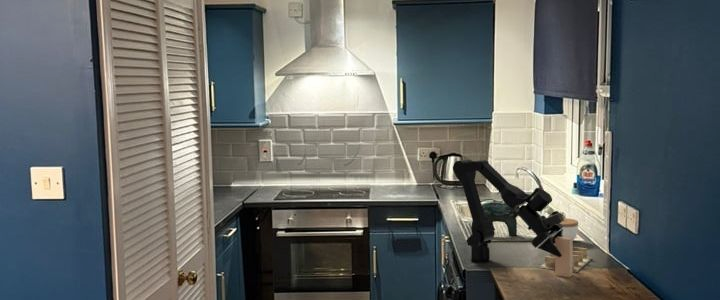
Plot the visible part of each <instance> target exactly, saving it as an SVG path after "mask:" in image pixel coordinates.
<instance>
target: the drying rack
mask: <svg viewBox="0 0 720 300" xmlns="http://www.w3.org/2000/svg"><path fill="white" fill-rule="evenodd" d="M592 258H593V257H591V256H588V248H587V247H585V248H584V247H578V246H573V273H576V272H577V273H578V272H579V271H580V270H581V269H582V268H584V267H585V266H586V265H587V264H588V263H589V262H590V261H591V260H592ZM539 268H540V269H545V270H546V269H547V270H554V271H555V255H553V254H551V253H549V255H547V256H544V263H542V264H541V265H540V266H539Z"/></svg>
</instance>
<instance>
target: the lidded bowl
mask: <svg viewBox="0 0 720 300" xmlns="http://www.w3.org/2000/svg"><path fill="white" fill-rule="evenodd" d="M563 219H564V221H562V222H561V223H560V224H561V225H562V226H563V228H562V229H563V233H562V236H563V237H567V238H573V241H574V240H575V239H576V238H577V235H578V231H579V221H578V220H576V219H573V218H566V217H565V216H564V215H563ZM560 230H561V229H560ZM560 230H559V231H560Z"/></svg>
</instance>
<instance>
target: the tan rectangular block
mask: <svg viewBox="0 0 720 300" xmlns="http://www.w3.org/2000/svg"><path fill="white" fill-rule="evenodd" d="M573 242H574V240H573V238H567V237H557V238H555V244H554V245H555V246H556V247H557V249H558V250H559V252H560V253H561V255H562V256H561V257H558V256H555V270H554V271H555V272H554V273H555V274H554V275H555V276H557V277H558V276H559V277H565V278H571V277H572V276H573V274H574V272H573V247H574V244H573Z"/></svg>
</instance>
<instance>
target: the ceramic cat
mask: <svg viewBox="0 0 720 300" xmlns="http://www.w3.org/2000/svg"><path fill="white" fill-rule="evenodd" d="M499 194H500V192H499V191H498V192H497V193H496V195H499ZM489 200H490V201H489ZM480 201H481V204H482V208H483V211H484V214H485V217H486V218H487V219H488V220H492V221H493V223H494V222H495V223H496V222H497V223H498V222H499V223H504V224H505V226H506V228H507V231H508V232H507V233H508V236H509V237H517V234H518V233H517V232H518V224H517V223H518V222H517V217H516V218H513V211H514V210H516V209H517V210H518V209H519V208H520V207H521V206H517V207H509V206H507V205H506V203H505V202H504V201H503V200H500V201H499V200H496V199H493V198H486V199H482V200H480ZM485 201H486V202H485ZM487 201H488V202H487ZM482 202H484V203H482Z"/></svg>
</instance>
